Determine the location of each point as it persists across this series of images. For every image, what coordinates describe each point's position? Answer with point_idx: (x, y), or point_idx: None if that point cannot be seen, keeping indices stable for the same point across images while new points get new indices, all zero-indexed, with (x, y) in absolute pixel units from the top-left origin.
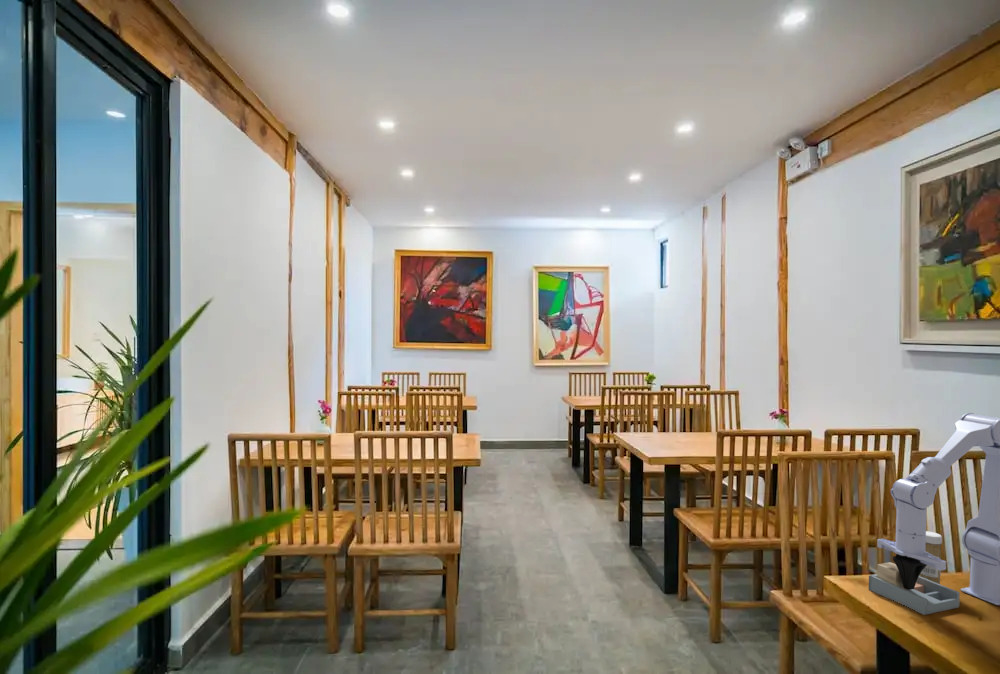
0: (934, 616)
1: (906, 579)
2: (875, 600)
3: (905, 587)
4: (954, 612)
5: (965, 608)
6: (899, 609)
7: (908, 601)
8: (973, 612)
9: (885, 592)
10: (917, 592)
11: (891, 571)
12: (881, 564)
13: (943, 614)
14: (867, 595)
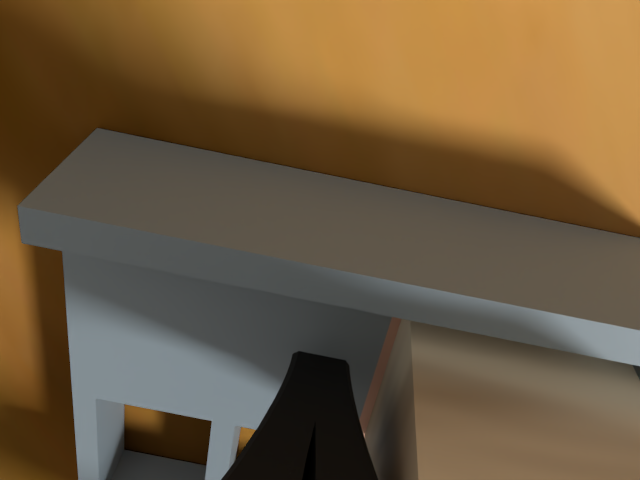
0: None
1: (291, 432)
2: (526, 26)
3: (322, 362)
4: (62, 373)
5: None
6: (270, 34)
7: (235, 189)
8: (30, 455)
9: (489, 231)
10: None
11: (484, 474)
12: None
13: (60, 281)
14: (636, 83)
